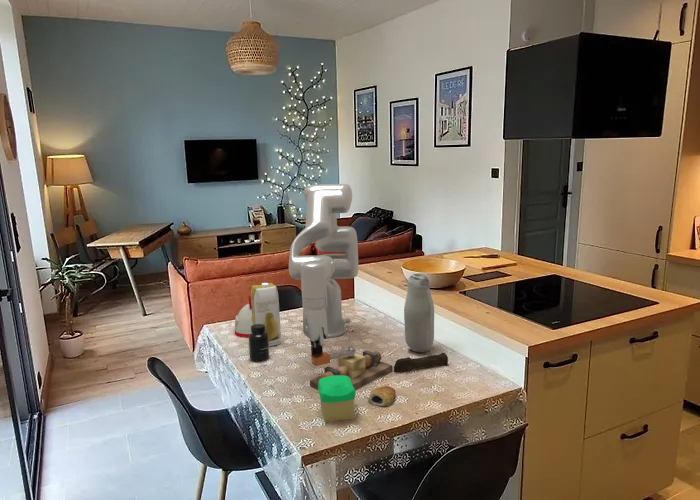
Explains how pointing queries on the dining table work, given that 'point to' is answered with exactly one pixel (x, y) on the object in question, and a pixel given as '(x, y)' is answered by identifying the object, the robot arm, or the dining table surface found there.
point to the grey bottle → (419, 314)
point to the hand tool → (419, 363)
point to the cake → (336, 397)
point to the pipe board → (364, 376)
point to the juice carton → (266, 310)
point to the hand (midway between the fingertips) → (317, 358)
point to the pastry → (382, 396)
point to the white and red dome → (244, 321)
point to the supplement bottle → (258, 343)
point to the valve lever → (331, 356)
